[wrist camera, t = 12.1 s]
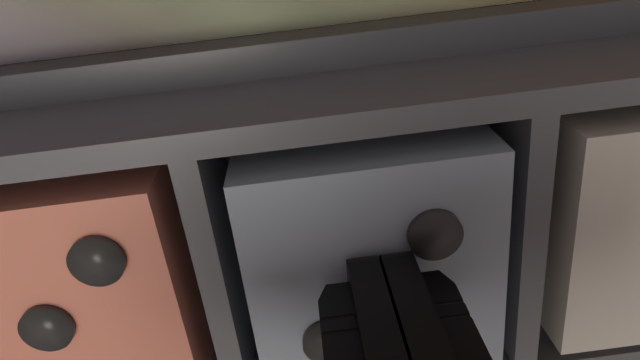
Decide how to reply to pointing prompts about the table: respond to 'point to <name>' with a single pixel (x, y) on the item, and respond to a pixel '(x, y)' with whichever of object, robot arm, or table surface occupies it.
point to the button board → (332, 121)
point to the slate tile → (370, 225)
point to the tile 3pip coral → (98, 270)
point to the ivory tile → (595, 233)
